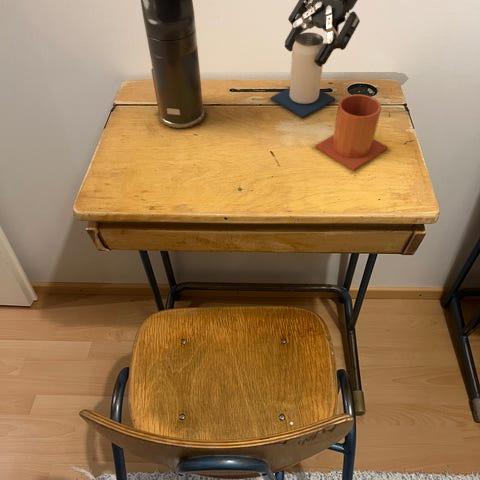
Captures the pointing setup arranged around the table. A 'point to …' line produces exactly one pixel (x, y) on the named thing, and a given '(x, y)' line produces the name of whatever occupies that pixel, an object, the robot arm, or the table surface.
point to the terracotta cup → (355, 125)
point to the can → (305, 68)
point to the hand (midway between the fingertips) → (302, 56)
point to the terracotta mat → (351, 162)
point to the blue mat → (302, 109)
